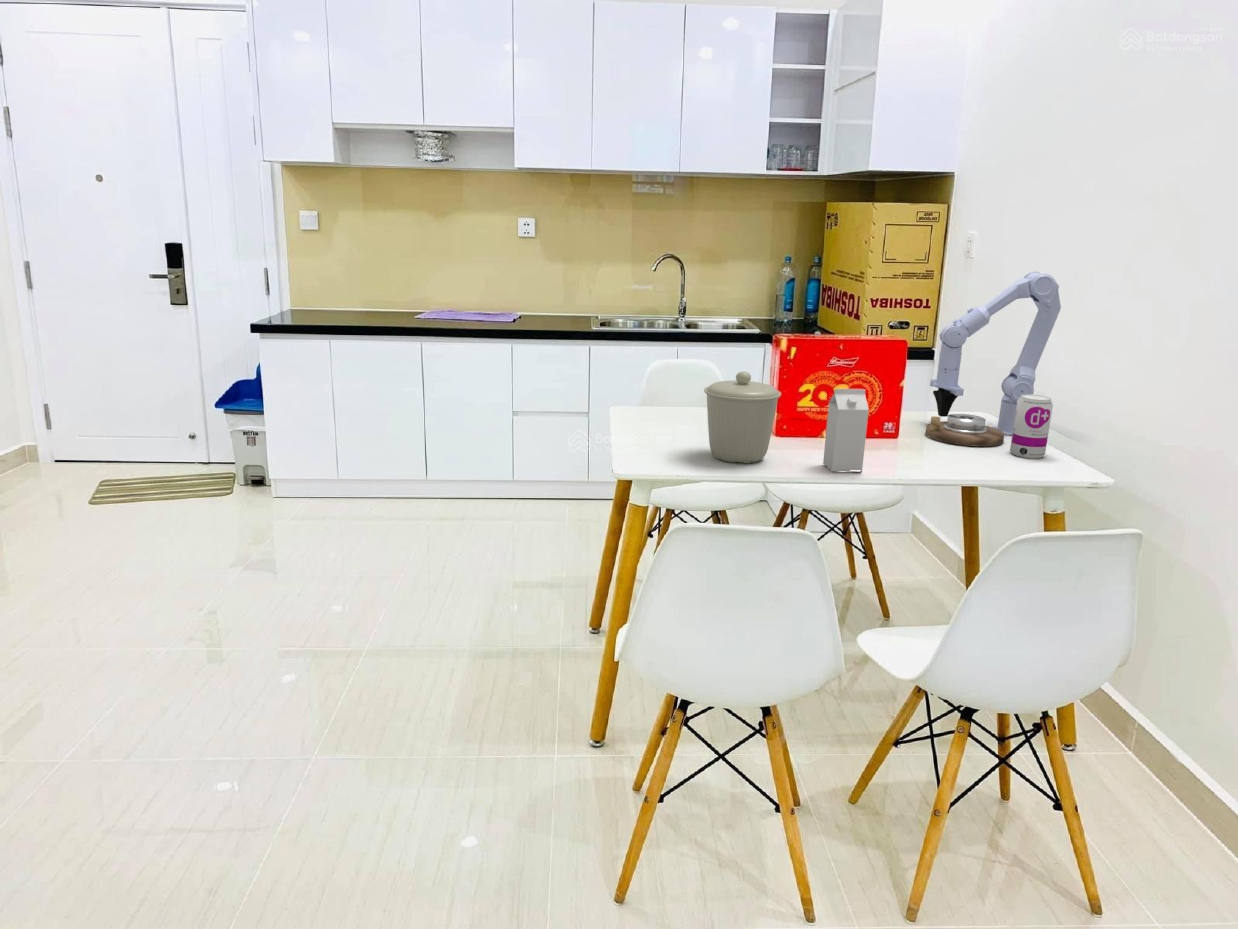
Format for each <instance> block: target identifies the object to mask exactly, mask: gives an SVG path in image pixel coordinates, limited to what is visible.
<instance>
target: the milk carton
mask: <svg viewBox="0 0 1238 929" xmlns="http://www.w3.org/2000/svg"><path fill="white" fill-rule="evenodd" d="M830 398H831V399H830V400H829V402H828V409H827V419H826V429H825V439H824V440H825V441H824V451H823V460H822V465H824V467H826V466H827V467H826V468H827V469H828V470H829V469H830V470H831V472H832V471H850V470H862V471H863V465H864V457H865V456H864V455H865V446H866V438H867V429H868V419H869V418H868V417H869V412H870V411H869V410H870V409H869V405H868V401H867V398H866V389H864V388H836V389H835V391H834V394H833V395H832V397H830ZM830 470H829V471H830Z"/></svg>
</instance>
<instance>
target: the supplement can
mask: <svg viewBox="0 0 1238 929" xmlns="http://www.w3.org/2000/svg"><path fill="white" fill-rule="evenodd" d="M1053 408H1054V404H1053V401H1052V398H1051V397H1050V396H1045V395H1040V394H1033V395H1031V394H1025V395H1021V397H1020V398H1019V400H1018V401H1017V407H1016V414H1015V420H1014V427H1013V433H1012V435H1011V440H1010V441H1011V442H1010V447H1009V451H1010V452H1011V454H1012V455H1013V456H1015V455H1016V457H1018V456H1020V457H1019V458H1022V459H1023V458H1024V459H1031V460H1032V459H1036V460H1037V459H1041V458H1042V457H1044V456H1045V455H1046V451H1047V444H1048V438H1049V431H1050V427H1051V426H1050V425H1051V420H1052V414H1053Z"/></svg>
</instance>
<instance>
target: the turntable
mask: <svg viewBox="0 0 1238 929" xmlns="http://www.w3.org/2000/svg"><path fill="white" fill-rule="evenodd" d="M946 423H947V420H946V421H941V416H933V415H932V416H930V422H929V423H927V424H926V426H925V435H926V436H927V437H928V438H931V439H933V440H936V441H938V442H943V443H947V444H953V445H958V446H959V445H960V446H969V447H971V446H972V447H992V446H998V445H1001V444H1003V443H1004V440H1005V434H1004V432H1003V431H1001V430H999V429H996V428H993V427H994V426H990V425H989V426H988V425H985V428H987V433H985V434H980V435H969V434H960V433H954V432H950V431H947V430H945V429H944V424H946Z"/></svg>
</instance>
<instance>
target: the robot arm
mask: <svg viewBox="0 0 1238 929" xmlns="http://www.w3.org/2000/svg"><path fill="white" fill-rule="evenodd" d="M1059 288H1060V285H1059V283H1057V281H1056V279H1055V277H1054V276H1052V275H1051V274H1049V273H1041V272H1039V271H1031V272H1028V273H1027V274H1025V276H1023V277H1021V278H1018V279H1017V280H1016V281H1014V282H1013V283H1012V284H1010V286H1008V287H1007V288H1005V289H1004V290H1003V291H1002V292H1000V294H998V295H996V296H995V297H994V298H993V299H991V300H990V301H989V302H988V303H986V304H985V305H984V306H975V307H969V308H968V309H967V310H966V311H967V312H966V313H965V314H963V315H962V316H961V317H959V318H957V319H954V320H952V323H953V324H948V325H946V326H944V327H943V328H942V330H941V331H940V333H939V339H940V341H941V344H940V351H939V356H938V358H939V359H938V365H937V373H936V378H935V379H930V382H929V386H930V387H933V388H937V390H932V394H933V395H934V398H935V402H936V408H937V414H938V416H937V417H940V418H941V417H944V418H945V417H947V418H948V415H949V413H950V411H951V409H952V406H953V404H954V402H955V400H956V399H957V398H958V397H960V396H961V397H962V396H964V391H965V389H964V388H963V387H961V386H960V385H959V384H958V383H959V376H960V369H961V368H960V367H961V361H962V351H963V350H962V349H963V345H964V344H966V342H967V338H970V337H971V336H972V335H974V334H976V333H977V332H979V331H980V330H981V329H983V328H984V327H985V326H987V325H989V323H990V320H991V316H993V315H995V314H997V313H998V312H999V311H1000V310H1002V309H1004V308H1005V307H1007V306H1008V305H1010V304H1011V303H1013V302H1014V301H1016V300H1019V299H1020V300H1021V299H1029V298H1031V299H1032V301H1033V302H1034V304H1035V306H1036V308H1037V313H1036V315H1035V317H1034V320H1033V322H1032V324H1031V326H1030V329H1029V332H1028V335H1027V337H1026V340H1025V341H1024V344H1023V347H1022V349H1021V351H1020V354H1019V356H1018V359H1017V361H1016V364H1015V365H1014V366H1013V367H1012V368H1011V369H1010V372H1009V374H1008V375H1007V376H1006V377H1005V378H1004V379H1003V380H1002V382H1001V392H1003V396H1002V397H1001V401H1000V408H999V414H998V422H997V426H992V427H993V428H996V429H999V430H1001V431H1003V432H1004V436H1012V433H1013V427H1014V420H1015V414H1016V407H1017V401H1018V400H1019V398H1020V397H1021V395H1025V394H1031V395H1034V392H1035V387H1034V385H1035V382H1036V370H1037V367H1038V365H1039V362H1040V360H1041V357H1042V354H1043V352H1044V350H1045V348H1046V346H1047V343H1048V341H1049V338H1050V335H1051V333H1052V330H1053V329H1054V326H1055V323H1056V322H1057V319H1058V317H1059V314H1060V313H1061V312H1060V311H1061V308H1062V306H1061V300H1060V293H1059Z"/></svg>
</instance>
